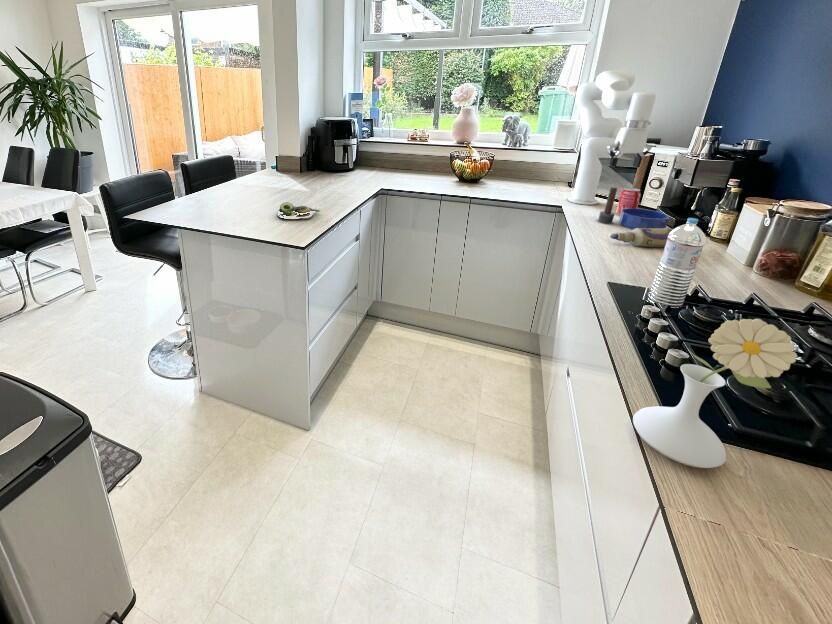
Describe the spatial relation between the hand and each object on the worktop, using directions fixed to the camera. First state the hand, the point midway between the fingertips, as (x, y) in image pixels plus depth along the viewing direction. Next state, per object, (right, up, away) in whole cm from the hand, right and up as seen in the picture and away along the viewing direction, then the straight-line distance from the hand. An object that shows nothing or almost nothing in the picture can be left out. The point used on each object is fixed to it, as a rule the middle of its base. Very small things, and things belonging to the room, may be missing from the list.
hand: (623, 166), depth 166 cm
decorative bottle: (-7, -33, -21) cm, 40 cm away
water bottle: (-40, -49, -64) cm, 90 cm away
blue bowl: (+6, -25, -2) cm, 26 cm away
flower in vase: (-70, -64, -103) cm, 140 cm away
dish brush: (-5, -23, +4) cm, 24 cm away
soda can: (+10, -20, +12) cm, 25 cm away
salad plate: (-139, -19, +16) cm, 141 cm away
